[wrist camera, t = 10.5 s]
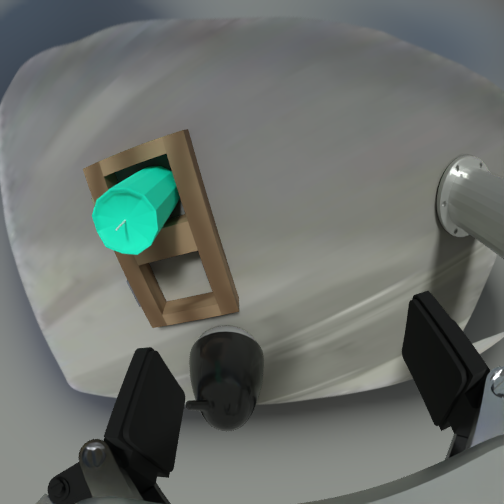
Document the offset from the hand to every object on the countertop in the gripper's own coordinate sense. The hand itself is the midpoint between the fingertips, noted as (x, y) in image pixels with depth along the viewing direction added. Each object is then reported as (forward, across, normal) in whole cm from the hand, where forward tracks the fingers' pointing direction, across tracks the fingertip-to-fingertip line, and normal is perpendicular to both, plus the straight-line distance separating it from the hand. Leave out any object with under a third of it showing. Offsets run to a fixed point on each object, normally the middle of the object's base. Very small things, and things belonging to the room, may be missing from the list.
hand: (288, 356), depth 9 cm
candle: (+24, +12, -3) cm, 27 cm away
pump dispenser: (+24, +10, +20) cm, 33 cm away
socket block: (+24, +12, +2) cm, 27 cm away
